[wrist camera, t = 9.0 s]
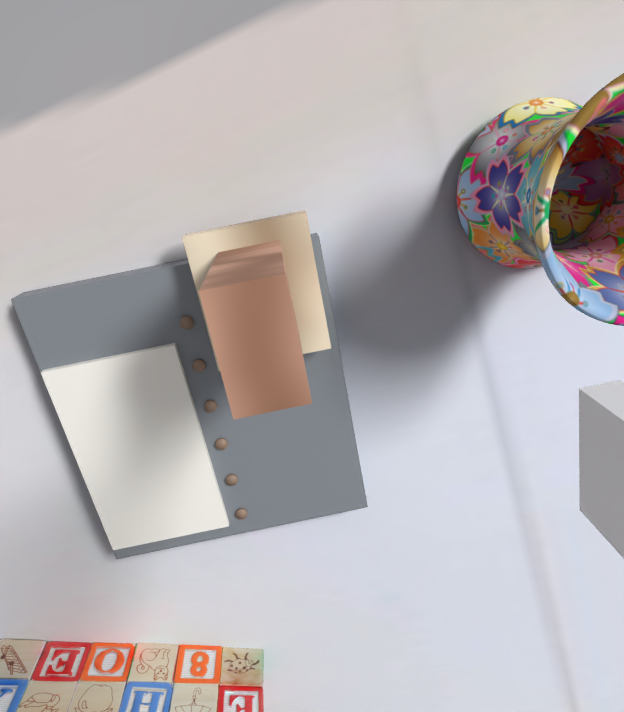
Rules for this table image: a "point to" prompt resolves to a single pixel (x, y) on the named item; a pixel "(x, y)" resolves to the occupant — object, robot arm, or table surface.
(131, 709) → the stack of blocks
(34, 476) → the table surface
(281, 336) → the stub
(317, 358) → the board
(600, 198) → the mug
